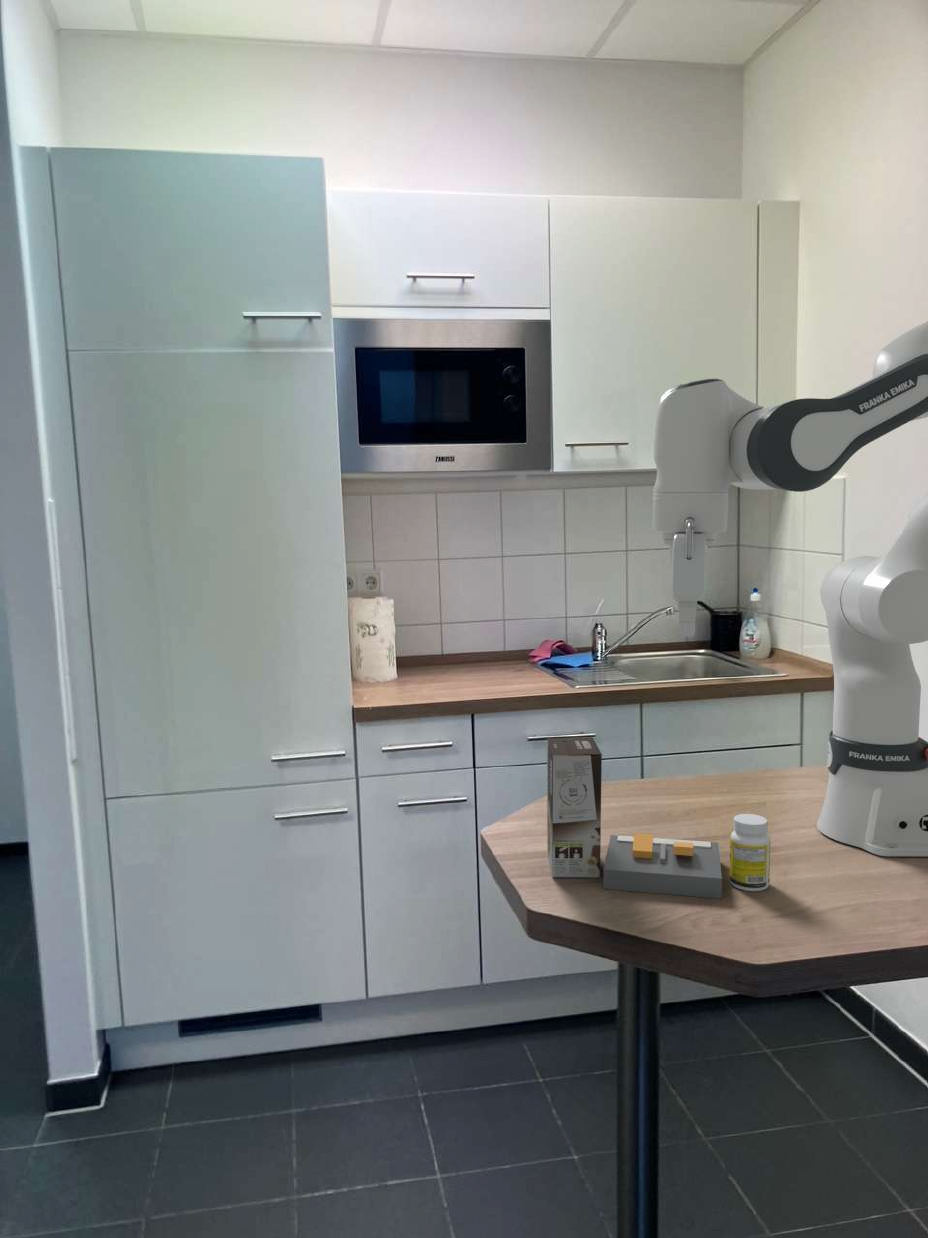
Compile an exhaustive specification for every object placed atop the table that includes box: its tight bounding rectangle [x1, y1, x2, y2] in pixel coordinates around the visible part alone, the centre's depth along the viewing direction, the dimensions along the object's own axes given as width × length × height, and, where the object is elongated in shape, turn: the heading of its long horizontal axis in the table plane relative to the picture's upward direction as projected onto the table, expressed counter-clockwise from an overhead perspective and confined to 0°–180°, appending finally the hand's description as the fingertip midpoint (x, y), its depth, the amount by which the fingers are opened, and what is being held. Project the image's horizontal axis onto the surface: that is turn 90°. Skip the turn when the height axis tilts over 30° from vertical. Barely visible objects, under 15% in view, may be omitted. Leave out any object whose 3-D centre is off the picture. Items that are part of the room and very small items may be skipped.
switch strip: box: [602, 834, 723, 899], centre depth 118 cm, size 14×12×3 cm
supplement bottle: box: [729, 813, 771, 892], centre depth 114 cm, size 5×5×8 cm
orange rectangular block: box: [673, 842, 693, 856], centre depth 117 cm, size 2×4×1 cm, turn 167°
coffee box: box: [546, 736, 603, 879], centre depth 121 cm, size 9×6×16 cm
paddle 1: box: [633, 832, 654, 859], centre depth 118 cm, size 2×4×1 cm, turn 167°
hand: (686, 630), depth 114 cm, fingers open, 7 cm apart
